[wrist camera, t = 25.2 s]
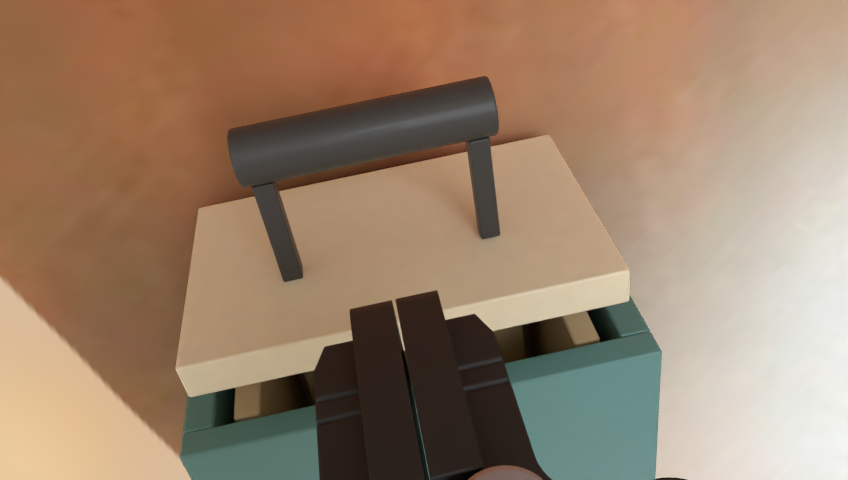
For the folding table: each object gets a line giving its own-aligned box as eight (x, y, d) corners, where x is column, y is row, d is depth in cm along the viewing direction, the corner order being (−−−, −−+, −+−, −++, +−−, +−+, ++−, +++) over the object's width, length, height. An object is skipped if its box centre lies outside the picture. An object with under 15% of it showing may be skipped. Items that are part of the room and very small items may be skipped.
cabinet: (204, 248, 29) (178, 458, 21) (560, 172, 30) (662, 351, 22) (295, 471, 38) (300, 681, 30) (572, 409, 38) (649, 600, 30)
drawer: (145, 76, 24) (99, 218, 18) (541, -5, 25) (633, 106, 18) (289, 436, 35) (291, 606, 28) (563, 376, 35) (626, 530, 29)
